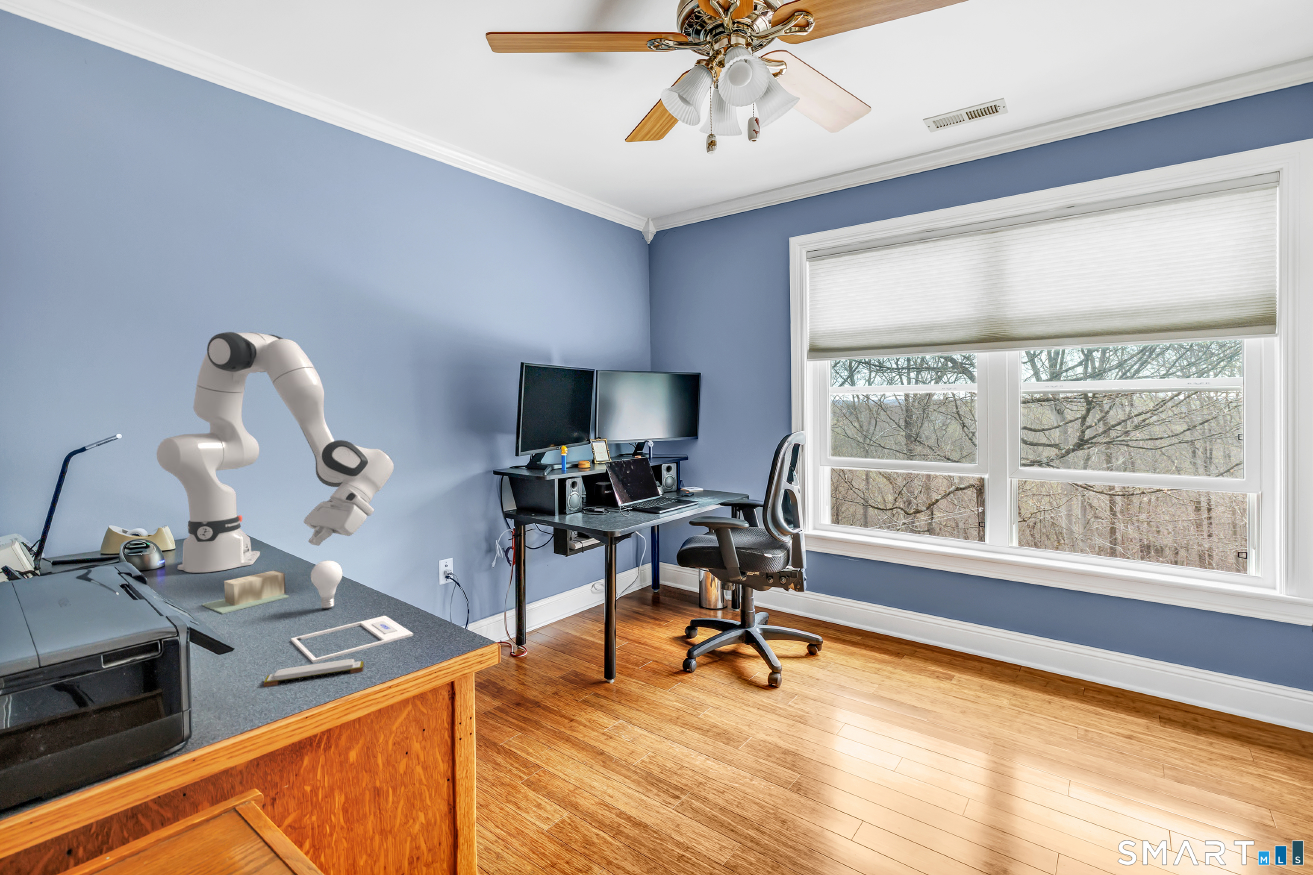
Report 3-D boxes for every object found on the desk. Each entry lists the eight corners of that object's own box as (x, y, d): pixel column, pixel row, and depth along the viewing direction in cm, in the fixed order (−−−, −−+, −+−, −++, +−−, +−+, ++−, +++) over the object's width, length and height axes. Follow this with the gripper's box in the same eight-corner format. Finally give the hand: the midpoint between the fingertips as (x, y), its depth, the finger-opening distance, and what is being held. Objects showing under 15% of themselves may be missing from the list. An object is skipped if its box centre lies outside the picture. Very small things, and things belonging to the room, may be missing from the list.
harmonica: (363, 667, 106) (363, 655, 106) (362, 674, 104) (362, 662, 103) (267, 681, 101) (267, 670, 101) (263, 689, 98) (263, 677, 98)
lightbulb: (319, 615, 132) (317, 565, 132) (306, 609, 136) (305, 561, 136) (348, 607, 137) (347, 560, 137) (335, 602, 141) (334, 556, 141)
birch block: (274, 570, 150) (224, 581, 141) (284, 573, 147) (233, 584, 138) (275, 589, 150) (225, 601, 141) (285, 593, 148) (234, 605, 138)
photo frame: (413, 632, 120) (312, 659, 107) (413, 637, 120) (313, 665, 107) (385, 614, 130) (291, 637, 118) (385, 619, 130) (291, 642, 118)
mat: (267, 589, 151) (267, 588, 151) (289, 597, 145) (289, 595, 145) (201, 605, 140) (201, 604, 140) (222, 613, 134) (222, 612, 134)
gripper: (320, 491, 167) (283, 532, 159) (361, 497, 155) (324, 541, 148) (336, 505, 171) (302, 545, 163) (377, 511, 159) (342, 555, 152)
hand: (313, 543), depth 155 cm, fingers closed
